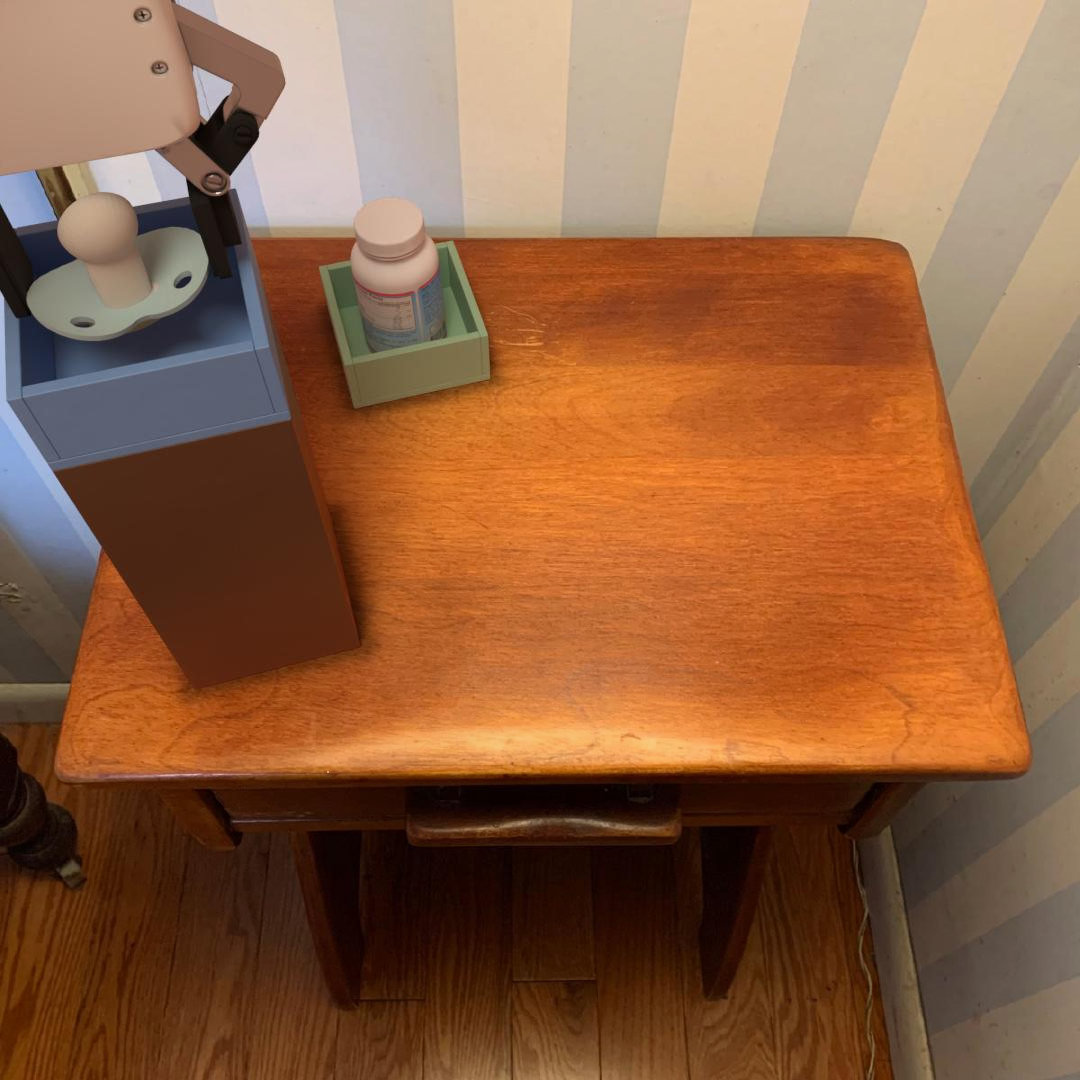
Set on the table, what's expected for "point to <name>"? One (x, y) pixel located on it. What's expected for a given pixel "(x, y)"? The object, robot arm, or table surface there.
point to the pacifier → (116, 272)
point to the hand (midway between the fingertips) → (123, 272)
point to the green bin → (415, 364)
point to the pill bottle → (396, 276)
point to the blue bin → (191, 464)
